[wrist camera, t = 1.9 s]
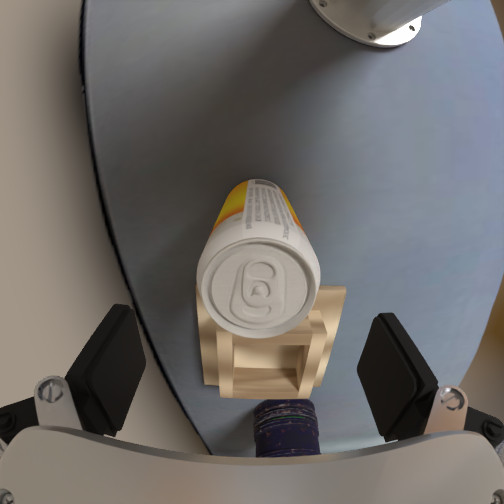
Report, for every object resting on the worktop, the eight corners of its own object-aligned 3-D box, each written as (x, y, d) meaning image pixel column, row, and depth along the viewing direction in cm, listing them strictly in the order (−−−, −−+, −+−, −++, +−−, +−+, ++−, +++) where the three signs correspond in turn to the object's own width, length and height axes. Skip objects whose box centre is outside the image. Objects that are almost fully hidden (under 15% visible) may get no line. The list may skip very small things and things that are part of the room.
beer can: (223, 236, 27) (193, 338, 14) (227, 175, 25) (191, 224, 11) (284, 242, 28) (310, 347, 14) (292, 181, 25) (338, 237, 11)
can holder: (197, 280, 29) (187, 307, 25) (344, 285, 29) (357, 311, 25) (205, 379, 36) (200, 406, 31) (318, 381, 36) (324, 408, 31)
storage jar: (241, 407, 38) (237, 491, 25) (297, 386, 36) (309, 478, 23) (274, 431, 42) (277, 503, 28) (324, 413, 39) (338, 489, 26)
